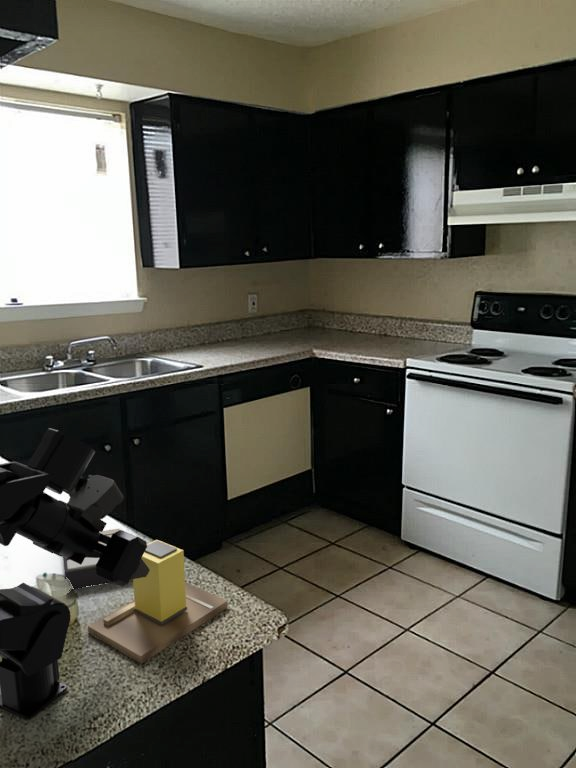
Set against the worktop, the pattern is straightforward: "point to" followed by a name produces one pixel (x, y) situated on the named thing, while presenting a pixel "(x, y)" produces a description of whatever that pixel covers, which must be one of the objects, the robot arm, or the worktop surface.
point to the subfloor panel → (155, 625)
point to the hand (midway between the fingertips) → (125, 563)
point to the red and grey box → (85, 569)
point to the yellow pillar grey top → (161, 583)
